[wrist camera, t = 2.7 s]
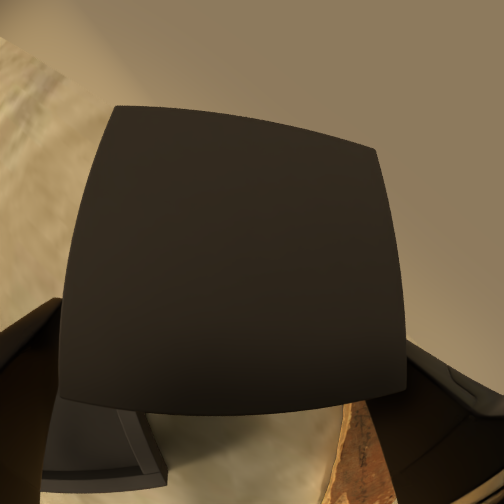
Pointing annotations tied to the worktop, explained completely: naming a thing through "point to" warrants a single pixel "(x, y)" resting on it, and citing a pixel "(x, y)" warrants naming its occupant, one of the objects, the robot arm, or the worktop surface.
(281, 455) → the worktop surface
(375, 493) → the shard
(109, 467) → the base pad
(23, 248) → the worktop surface
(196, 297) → the dark banded block
